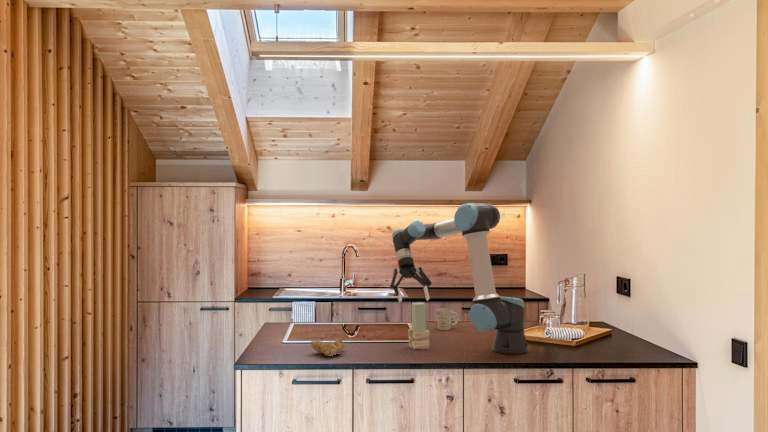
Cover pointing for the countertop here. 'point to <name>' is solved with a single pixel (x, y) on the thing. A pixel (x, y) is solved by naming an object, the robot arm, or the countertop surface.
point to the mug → (445, 318)
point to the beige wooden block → (419, 344)
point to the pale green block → (418, 316)
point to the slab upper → (418, 335)
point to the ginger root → (329, 347)
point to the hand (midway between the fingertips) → (414, 300)
